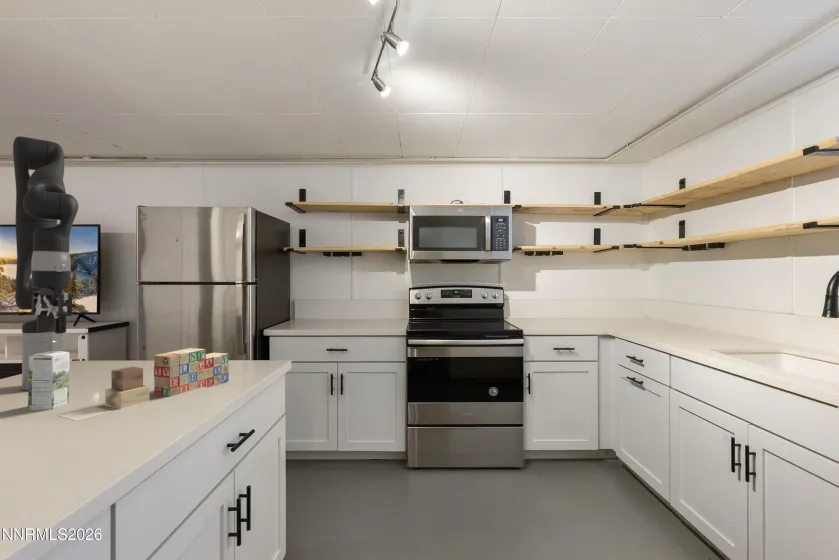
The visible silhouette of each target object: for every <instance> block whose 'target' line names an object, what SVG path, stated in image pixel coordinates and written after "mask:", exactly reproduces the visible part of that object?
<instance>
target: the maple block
mask: <svg viewBox="0 0 839 560" xmlns="http://www.w3.org/2000/svg"><path fill="white" fill-rule="evenodd" d="M104 390H105V397H104V398H105V399H104V401H105V404H104V406H105V405H108V406H107V407H109V406H112V407H111V408H114V407H117V408H116V409H118V408H121V409H120V410H123V409H126V408H125V407H127V408H130V407H129V406H131V407H134V406H133V405H135V406H137V404H139V405H142V404H145V403H144V402H146V403H149V402H148V401H150V385H149V386H148V385H144V384H143V387H140V388H136V389H131V390H127V391H118V390H113V389H111V388H106V389H104ZM141 403H142V404H141ZM122 408H123V409H122Z"/></svg>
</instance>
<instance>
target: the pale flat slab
mask: <svg viewBox="0 0 839 560" xmlns="http://www.w3.org/2000/svg"><path fill="white" fill-rule="evenodd" d="M149 402H151V400H149V401H148V402H144V403H141V404H137V405H142V404H145V403H149ZM137 405H133V406H129V407H125V408H122V409H121V408H117V407H112V406H108V405H105V404H104V406H105V407H110V408H114V409H119V410H123V409H126V408H131V407H135V406H137ZM112 412H113V410H109V409H104V408H101V407H96V406H93V407H89V408H86V409H83V410H78V411H74V412H69V413H66V414H61V415H60V417H61V418H65V419H68V420H71V421H75V422H77V421H81V420H85V419H89V418H93V417H97V416H100V415H105V414H108V413H112Z"/></svg>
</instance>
